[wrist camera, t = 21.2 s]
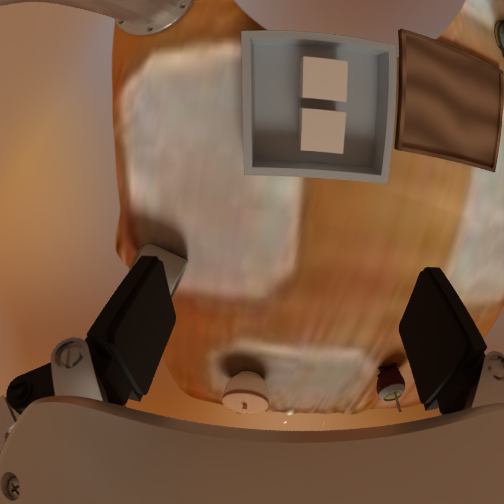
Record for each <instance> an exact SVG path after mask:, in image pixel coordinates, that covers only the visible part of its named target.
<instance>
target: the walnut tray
mask: <svg viewBox="0 0 504 504" xmlns="http://www.w3.org/2000/svg"><path fill="white" fill-rule="evenodd" d="M398 35H399V100H398V117H397V130H396V140H395V149H396V150H400V151H406V152H411V153H417V154H422V155H427V156H432V157H437V158H441V159H446V160H450V161H454V162H458V163H462V164H466V165H470V166H474V167H478V168H481V169H485V170H488V171H491V172H495V169H496V164H497V158H498V151H499V144H500V136H501V127H502V115H503V89H504V81H503V71H502V70H500V69H498V68H496V67H495V66H493V65H491V64H489V63H487V62H485V61H483V60H481V59H479V58H477V57H475V56H473V55H471V54H469V53H466V52H464V51H462V50H460V49H457V48H455V47H453V46H450V45H448V44H445V43H443V42H440V41H437V40H435V39H432V38H429V37H426V36H423V35H420V34H417V33H414V32H410V31H407V30H403V29H400V30H398Z"/></svg>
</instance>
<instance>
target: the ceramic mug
mask: <svg viewBox="0 0 504 504" xmlns="http://www.w3.org/2000/svg"><path fill="white" fill-rule="evenodd" d="M143 255H146V256H157V257H158V258H159V260H161V261H162V262H163V264H164V269H165V273H166V278H167V282H168V286H169V290H170V295H171V299H172V297H173V296H174V294H175V292H176V290H177V288H178V286H179V284H180V282H181V279H182V277H183V275H184V273H185V270H186V268H187V265H188V260H186V259H184V258H181V257H179V256H177V255H175V254H173V253H171V252H168V251H166V250H164V249H162V248H160V247H158V246H156V245H153V244H149V243H147V244H144V245H142V246H141V247H140V249H139V250H138V251H137V253H136V255H135V256H134V258H133V261H132V263H131V266H130V269H129V271H130V270H131V269H132V267H133V266H134V265H135V263H136V262H137V261H138V259H139V258H140V257H141V256H143Z"/></svg>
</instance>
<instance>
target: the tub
mask: <svg viewBox="0 0 504 504" xmlns="http://www.w3.org/2000/svg"><path fill="white" fill-rule="evenodd" d="M241 44H242V101H243V149H244V175H265V176H294V177H313V178H329V179H342V180H354V181H364V182H374V183H383V184H387V182H388V176H389V168H390V161H391V152H392V143H393V133H394V121H395V105H396V74H397V60H396V46H394V45H390V44H385V43H381V42H377V41H371V40H367V39H361V38H355V37H349V36H342V35H335V34H326V33H316V32H303V31H277V30H276V31H274V30H261V31H241ZM303 56H305V57H316V58H325V59H333V60H340V61H347V62H348V78H347V101H346V102H338V101H329V100H320V99H309V98H299V83H300V62H301V60H302V58H303ZM299 107H310V108H321V109H331V110H338V111H342V112H346V122H345V136H344V148H343V154H339V153H329V152H317V151H304V150H300V147H299V144H298V123H299Z"/></svg>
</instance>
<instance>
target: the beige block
mask: <svg viewBox="0 0 504 504" xmlns="http://www.w3.org/2000/svg"><path fill="white" fill-rule="evenodd" d="M347 78H348V62H347V61H340V60H333V59H325V58H316V57H305V56H303V58H302V60H301V62H300V83H299V98H309V99H320V100H329V101H338V102H346V101H347Z"/></svg>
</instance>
